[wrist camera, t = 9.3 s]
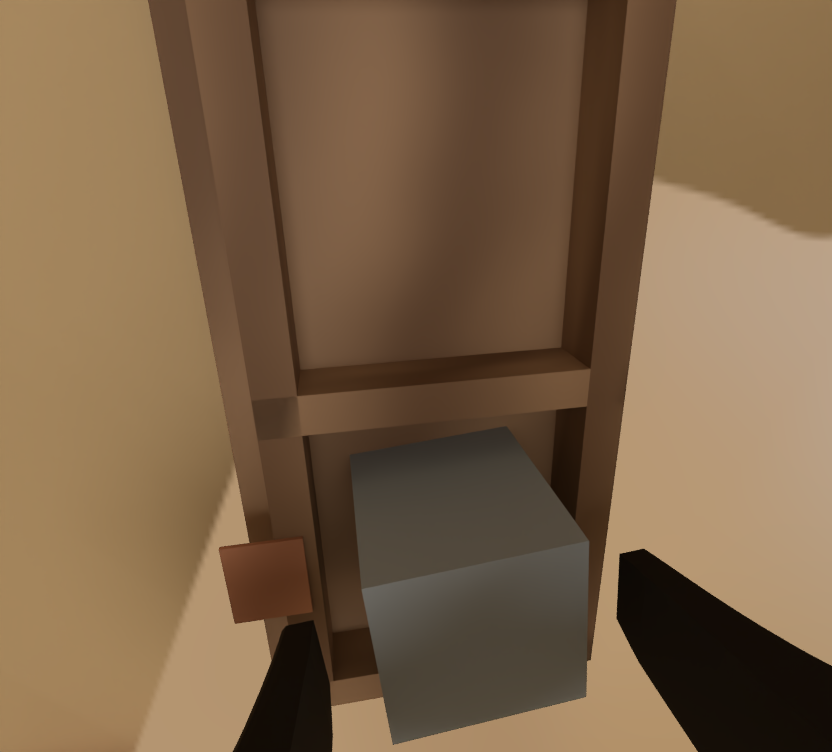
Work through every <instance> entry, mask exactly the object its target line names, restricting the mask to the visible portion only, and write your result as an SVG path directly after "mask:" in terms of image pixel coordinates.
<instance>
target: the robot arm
mask: <svg viewBox="0 0 832 752" xmlns="http://www.w3.org/2000/svg"><path fill="white" fill-rule="evenodd" d="M617 620H618V622H619V624H620V626H621V628H622V630H623V632H624V634H625V636H626V638H627V640H628V642H629V644H630V646H631V648H632V650H633V652H634V654H635V655H636V657H637V659H638V661H639V663H640V664H641V666H642V667H643V669H644V671H645V672H646V674H647V675H648V677H649V678H650V680H651V681H652V683H653V685H654V686H655V688H656V689H657V690H658V692H659V694H660V695H661V697H662V698H663V700H664V701H665V703H666V704H667V706H668V707H669V709H670V710H671V712H672V713H673V715H674V716H675V718H676V719H677V721H678V722H679V724H680V725H681V727H682V728H683V730H684V731H685V733H686V734H687V736H688V737H689V739H690V740H691V742H692V743H693V745H694V746H695V748H696V750H697V751H698V752H832V666H831V665H829V664H827V663H825V662H823V661H821V660H819V659H817V658H816V657H813V656H812V655H810V654H808V653H806V652H805V651H803V650H801V649H799V648H797V647H796V646H794V645H792V644H790V643H789V642H787V641H785V640H784V639H782V638H780V637H779V636H777V635H775V634H773V633H772V632H770V631H768V630H767V629H765V628H763V627H761V626H760V625H758V624H757V623H755V622H753V621H752V620H750V619H749V618H747V617H746V616H744V615H742V614H741V613H739V612H737V611H736V610H734V609H733V608H731V607H730V606H728V605H727V604H725V603H724V602H722V601H721V600H719V599H718V598H716V597H714V596H713V595H711V594H710V593H708V592H707V591H705V590H704V589H702V588H701V587H700V586H698V585H697V584H695V583H693V582H692V581H691V580H689V579H688V578H686V577H684V576H683V575H682V574H680V573H679V572H677V571H676V570H675V569H673V568H672V567H670V566H669V565H667V564H666V563H664V562H663V561H661V560H660V559H659V558H657V557H656V556H654V555H653V554H651V553H650V552H648V551H647V550H645V549H640V550H636V551H631V552H626V553H622V554H620V558H619V579H618V600H617ZM332 738H333V733H332V711H331V692H330V682H329V678H328V674H327V670H326V666H325V662H324V659H323V655H322V651H321V647H320V643H319V639H318V635H317V631H316V627H315V624H314V620H310V621H306V622H301V623H296V624H292V625H287V626H285V627H284V629H283V630H282V632H281V635H280V638H279V641H278V644H277V647H276V650H275V653H274V656H273V659H272V661H271V665H270V667H269V669H268V672H267V675H266V677H265V680H264V682H263V685H262V687H261V690H260V692H259V695H258V697H257V699H256V702H255V704H254V706H253V709H252V711H251V713H250V716H249V718H248V720H247V723H246V725H245V727H244V730H243V732H242V734H241V736H240V738H239V740H238V742H237V744H236V746H235V748H234V750H233V752H332Z"/></svg>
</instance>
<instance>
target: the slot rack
mask: <svg viewBox="0 0 832 752" xmlns="http://www.w3.org/2000/svg"><path fill="white" fill-rule="evenodd" d="M148 3H149V8H150V13H151V19H152V24H153V29H154V35H155V40H156V45H157V51H158V56H159V61H160V67H161V72H162V77H163V83H164V88H165V93H166V99H167V104H168V109H169V115H170V120H171V125H172V131H173V136H174V141H175V147H176V152H177V157H178V163H179V168H180V173H181V179H182V184H183V189H184V195H185V200H186V206H187V211H188V216H189V222H190V227H191V232H192V238H193V243H194V248H195V254H196V259H197V264H198V270H199V275H200V280H201V286H202V291H203V296H204V302H205V307H206V312H207V318H208V323H209V328H210V334H211V339H212V344H213V350H214V355H215V360H216V366H217V371H218V376H219V382H220V387H221V392H222V398H223V403H224V408H225V414H226V419H227V425H228V430H229V435H230V441H231V446H232V451H233V457H234V462H235V467H236V473H237V478H238V483H239V488H240V494H241V499H242V504H243V510H244V515H245V521H246V526H247V531H248V537H249V542H250V543H247V544H239V545H231V546H224V547H220V548H219V552H220V557H221V562H222V567H223V571H224V576H225V581H226V585H227V589H228V594H229V599H230V604H231V608H232V613H233V618H234V622H235V624H237V623H242V622H250V621H256V620H263V619H264V622H265V627H266V633H267V638H268V644H269V648H270V654H271V659H273V656H274V653H275V650H276V647H277V644H278V641H279V638H280V635H281V632H282V630H283V629H284V627H285V626H287V625H292V624H296V623H301V622H306V621H310V620H314V624H315V627H316V631H317V635H318V639H319V643H320V647H321V651H322V655H323V659H324V662H325V666H326V670H327V674H328V678H329V682H330V692H331V706H335V705H340V704H346V703H352V702H357V701H363V700H369V699H375V698H380V697H383V693H382V688H381V683H380V678H379V673H378V668H377V663H376V658H375V653H374V649H373V644H372V639H371V634H370V629H369V624H368V619H367V614H366V609H365V604H364V599H363V594H362V589H361V578H360V567H359V555H358V544H357V533H356V521H355V510H354V499H353V487H352V476H351V465H350V455H351V454H357V453H362V452H368V451H373V450H379V449H384V448H389V447H395V446H400V445H406V444H411V443H417V442H422V441H428V440H433V439H438V438H444V437H449V436H455V435H460V434H466V433H471V432H476V431H482V430H487V429H493V428H498V427H504V426H507V427H508V429H509V430H510V432H511V433H512V434H513V436H514V437H515V439H516V440H517V441H518V443H519V444H520V446H521V447H522V448H523V450H524V451H525V452H526V454H527V455H528V457H529V458H530V459H531V461H532V462H533V464H534V465H535V466H536V468H537V469H538V471H539V472H540V473H541V475H542V476H543V477H544V479H545V480H546V482H547V483H548V484H549V486H550V487H551V489H552V490H553V491H554V493H555V494H556V496H557V497H558V498H559V500H560V501H561V502H562V504H563V505H564V507H565V508H566V509H567V511H568V512H569V514H570V515H571V516H572V518H573V519H574V521H575V522H576V523H577V525H578V526H579V527H580V529H581V530H582V532H583V533H584V534H585V536H586V537H587V539H588V540H589V574H588V628H587V661H588V660H591V653H592V644H593V637H594V630H595V622H596V614H597V607H598V599H599V591H600V584H601V575H602V568H603V561H604V553H605V545H606V537H607V530H608V521H609V514H610V506H611V499H612V491H613V484H614V476H615V468H616V460H617V453H618V445H619V438H620V430H621V422H622V414H623V407H624V399H625V391H626V384H627V375H628V368H629V361H630V353H631V346H632V337H633V330H634V322H635V315H636V307H637V300H638V292H639V284H640V276H641V269H642V261H643V253H644V246H645V238H646V230H647V223H648V215H649V207H650V199H651V191H652V184H653V177H654V169H655V161H656V154H657V146H658V138H659V131H660V123H661V115H662V108H663V100H664V92H665V84H666V77H667V69H668V61H669V54H670V46H671V38H672V31H673V23H674V15H675V8H676V0H148Z"/></svg>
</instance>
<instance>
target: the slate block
mask: <svg viewBox="0 0 832 752" xmlns="http://www.w3.org/2000/svg"><path fill="white" fill-rule="evenodd" d="M350 465H351V476H352V487H353V499H354V510H355V521H356V533H357V544H358V555H359V567H360V578H361V589H362V594H363V599H364V604H365V609H366V614H367V619H368V624H369V629H370V634H371V639H372V644H373V649H374V653H375V658H376V663H377V668H378V673H379V678H380V683H381V688H382V693H383V698H384V703H385V707H386V713H387V717H388V723H389V727H390V732H391V737H392V742H393V745H394V744H398V743H402V742H406V741H410V740H414V739H418V738H422V737H426V736H430V735H434V734H438V733H442V732H447V731H451V730H454V729H458V728H463V727H466V726H470V725H475V724H479V723H483V722H487V721H491V720H494V719H499V718H503V717H507V716H511V715H515V714H519V713H523V712H527V711H531V710H535V709H539V708H543V707H547V706H552V705H555V704H560V703H564V702H568V701H572V700H576V699H580V698H584V697H586V682H587V628H588V574H589V540H588V539H587V537H586V536H585V534H584V533H583V532H582V530H581V529H580V527H579V526H578V525H577V523H576V522H575V521H574V519H573V518H572V516H571V515H570V514H569V512H568V511H567V509H566V508H565V507H564V505H563V504H562V502H561V501H560V500H559V498H558V497H557V496H556V494H555V493H554V491H553V490H552V489H551V487H550V486H549V484H548V483H547V482H546V480H545V479H544V477H543V476H542V475H541V473H540V472H539V471H538V469H537V468H536V466H535V465H534V464H533V462H532V461H531V459H530V458H529V457H528V455H527V454H526V452H525V451H524V450H523V448H522V447H521V446H520V444H519V443H518V441H517V440H516V439H515V437H514V436H513V434H512V433H511V432H510V430H509V429H508V427H507V426H504V427H498V428H493V429H487V430H482V431H476V432H471V433H466V434H460V435H455V436H449V437H444V438H438V439H433V440H428V441H422V442H417V443H411V444H406V445H400V446H395V447H389V448H384V449H379V450H373V451H368V452H362V453H357V454H351V455H350Z"/></svg>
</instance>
